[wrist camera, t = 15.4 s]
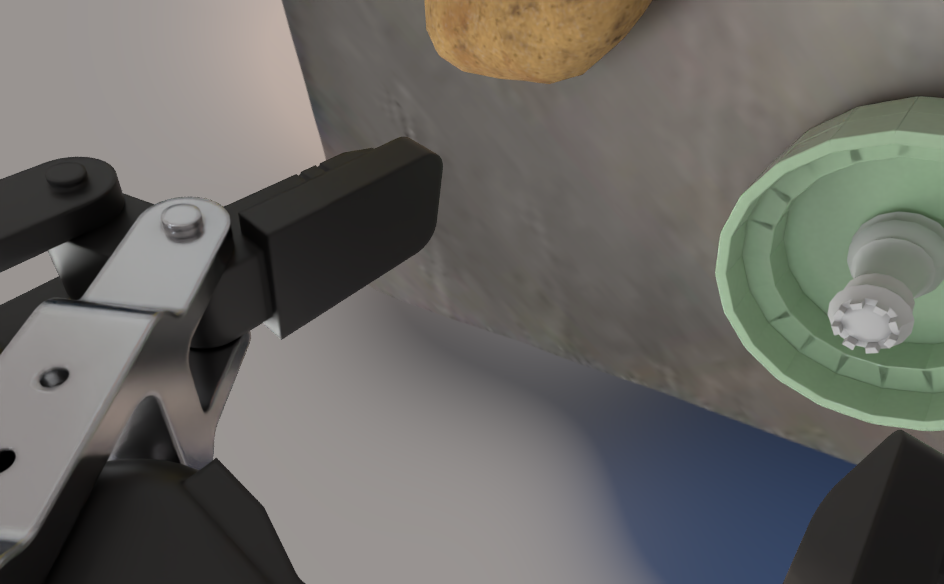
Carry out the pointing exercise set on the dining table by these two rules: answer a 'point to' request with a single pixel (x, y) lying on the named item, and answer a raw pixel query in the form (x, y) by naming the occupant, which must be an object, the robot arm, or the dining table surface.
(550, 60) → the potato
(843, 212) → the bowl
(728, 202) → the dining table surface
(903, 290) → the rook chess piece
